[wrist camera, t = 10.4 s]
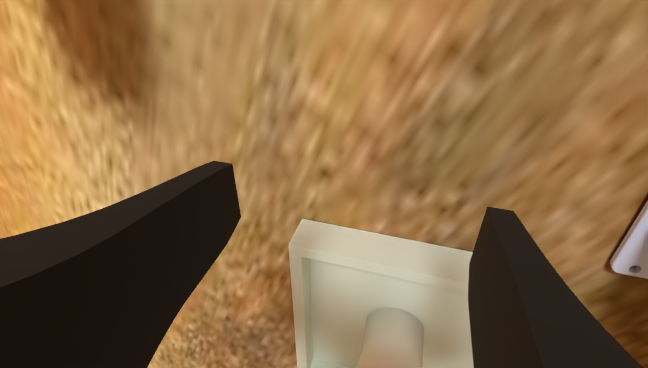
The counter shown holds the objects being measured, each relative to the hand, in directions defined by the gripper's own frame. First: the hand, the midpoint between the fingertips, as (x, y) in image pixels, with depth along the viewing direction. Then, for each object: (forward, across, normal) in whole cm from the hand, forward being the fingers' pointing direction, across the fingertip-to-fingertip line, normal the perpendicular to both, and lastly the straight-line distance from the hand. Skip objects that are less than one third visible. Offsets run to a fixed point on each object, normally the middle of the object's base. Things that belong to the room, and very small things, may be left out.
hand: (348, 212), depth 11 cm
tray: (+9, -2, +16) cm, 19 cm away
